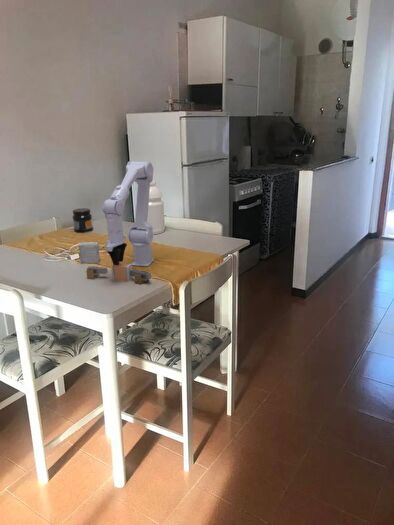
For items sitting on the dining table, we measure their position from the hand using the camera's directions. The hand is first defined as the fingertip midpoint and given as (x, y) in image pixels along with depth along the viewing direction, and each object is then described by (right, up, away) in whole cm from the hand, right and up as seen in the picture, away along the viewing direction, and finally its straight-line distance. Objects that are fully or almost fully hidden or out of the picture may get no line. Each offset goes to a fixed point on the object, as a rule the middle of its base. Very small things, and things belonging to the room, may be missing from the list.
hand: (118, 263), depth 170 cm
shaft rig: (0, -7, +1) cm, 7 cm away
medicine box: (-17, 0, +22) cm, 28 cm away
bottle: (+6, +17, +68) cm, 71 cm away
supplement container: (-33, +18, +73) cm, 82 cm away
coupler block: (+1, -6, +2) cm, 7 cm away
